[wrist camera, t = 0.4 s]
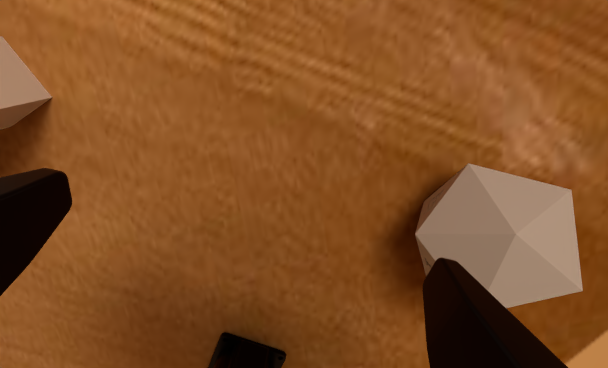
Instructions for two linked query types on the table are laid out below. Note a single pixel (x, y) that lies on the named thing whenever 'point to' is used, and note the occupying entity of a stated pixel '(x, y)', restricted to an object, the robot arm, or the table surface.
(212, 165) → the table surface
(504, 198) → the die
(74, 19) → the table surface
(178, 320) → the table surface
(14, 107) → the tall white pillar block
